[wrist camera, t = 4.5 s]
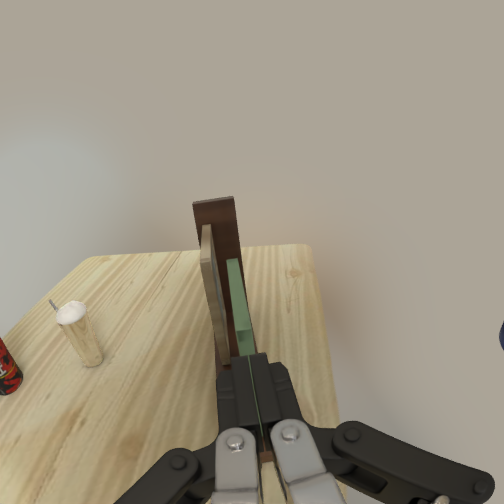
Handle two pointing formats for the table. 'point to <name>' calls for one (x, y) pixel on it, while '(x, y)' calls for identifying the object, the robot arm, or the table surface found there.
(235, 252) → the window frame
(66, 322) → the milkshake
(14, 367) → the deodorant
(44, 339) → the table surface
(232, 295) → the panel
